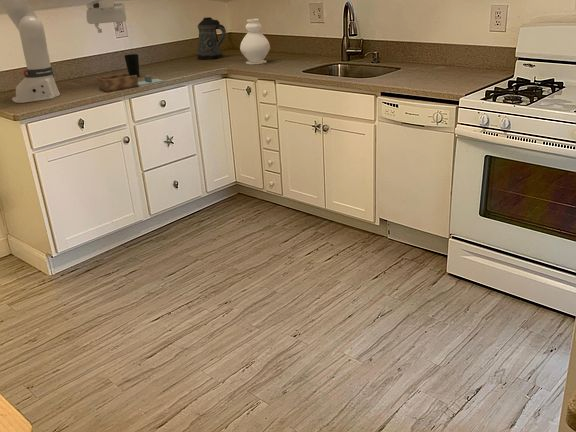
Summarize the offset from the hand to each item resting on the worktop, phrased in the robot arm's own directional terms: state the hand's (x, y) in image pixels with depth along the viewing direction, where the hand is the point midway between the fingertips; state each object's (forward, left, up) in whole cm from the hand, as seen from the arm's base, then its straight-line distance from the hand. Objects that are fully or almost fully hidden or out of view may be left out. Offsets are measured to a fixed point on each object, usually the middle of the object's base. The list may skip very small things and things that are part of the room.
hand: (108, 31), depth 311 cm
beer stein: (+79, +30, -27) cm, 89 cm away
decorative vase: (+85, -11, -27) cm, 90 cm away
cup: (+15, +10, -27) cm, 32 cm away
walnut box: (-5, -14, -27) cm, 31 cm away
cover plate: (+12, -14, -27) cm, 33 cm away
